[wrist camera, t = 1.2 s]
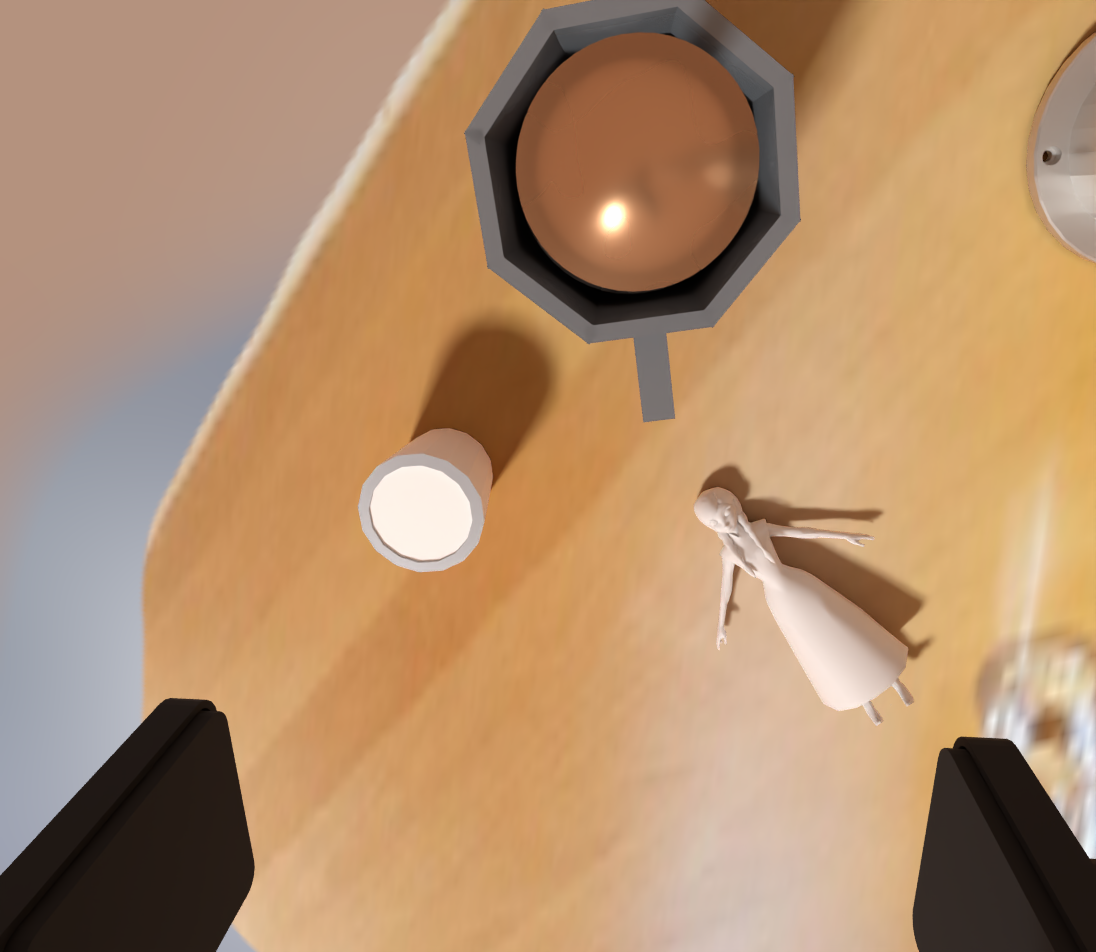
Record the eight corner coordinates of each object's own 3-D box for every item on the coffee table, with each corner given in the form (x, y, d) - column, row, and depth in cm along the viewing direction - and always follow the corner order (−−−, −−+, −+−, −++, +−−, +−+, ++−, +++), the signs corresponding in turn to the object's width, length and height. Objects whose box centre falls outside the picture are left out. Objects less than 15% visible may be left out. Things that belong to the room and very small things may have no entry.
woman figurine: (819, 777, 50) (624, 565, 48) (807, 735, 54) (628, 538, 52) (988, 672, 46) (787, 439, 44) (961, 635, 51) (776, 421, 48)
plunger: (737, 32, 29) (869, -155, 13) (754, 275, 31) (880, 364, 16) (503, 75, 30) (364, -50, 14) (538, 306, 32) (454, 418, 17)
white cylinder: (450, 395, 48) (423, 427, 42) (526, 480, 50) (510, 525, 43) (370, 463, 50) (330, 505, 44) (444, 543, 52) (417, 596, 45)
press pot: (725, 49, 41) (794, -47, 24) (746, 330, 45) (816, 416, 29) (514, 87, 42) (439, 22, 25) (555, 356, 47) (513, 451, 30)
